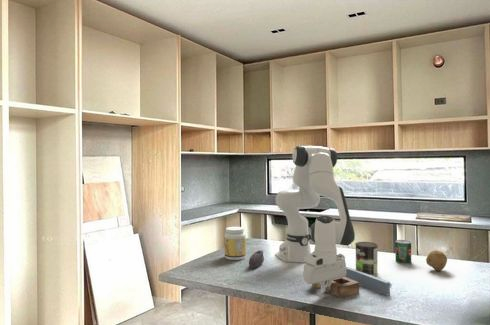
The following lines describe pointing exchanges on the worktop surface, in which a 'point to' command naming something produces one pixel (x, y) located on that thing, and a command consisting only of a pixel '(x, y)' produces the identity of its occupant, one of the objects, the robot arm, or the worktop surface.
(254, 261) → the perforated stone tool
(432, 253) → the natural sponge
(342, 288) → the block
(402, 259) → the canned tomato
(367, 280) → the wall
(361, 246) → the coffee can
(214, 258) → the worktop surface
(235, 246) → the supplement tub
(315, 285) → the dowel
